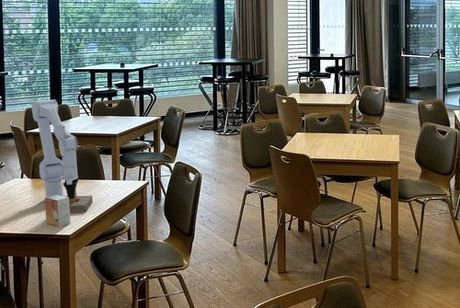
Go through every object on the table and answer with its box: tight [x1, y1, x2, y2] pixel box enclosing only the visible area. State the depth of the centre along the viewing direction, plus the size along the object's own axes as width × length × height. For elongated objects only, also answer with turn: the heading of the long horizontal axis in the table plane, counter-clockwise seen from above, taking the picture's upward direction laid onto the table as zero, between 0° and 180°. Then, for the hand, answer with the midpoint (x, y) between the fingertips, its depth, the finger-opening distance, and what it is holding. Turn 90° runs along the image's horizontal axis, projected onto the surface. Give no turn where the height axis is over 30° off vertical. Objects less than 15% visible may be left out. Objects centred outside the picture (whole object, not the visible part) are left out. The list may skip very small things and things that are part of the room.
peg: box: [66, 187, 78, 202], centre depth 272 cm, size 4×4×9 cm
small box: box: [44, 195, 71, 227], centre depth 249 cm, size 8×6×10 cm
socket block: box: [63, 195, 94, 214], centre depth 272 cm, size 16×14×3 cm
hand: (72, 197), depth 272 cm, fingers closed on peg, 4 cm apart
